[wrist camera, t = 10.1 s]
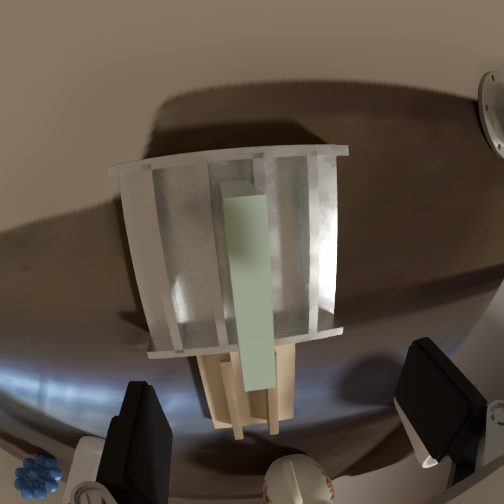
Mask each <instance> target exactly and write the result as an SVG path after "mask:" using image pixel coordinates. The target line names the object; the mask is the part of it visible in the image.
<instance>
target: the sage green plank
mask: <svg viewBox="0 0 504 504" xmlns="http://www.w3.org/2000/svg"><path fill="white" fill-rule="evenodd" d="M219 190H220V201H221V211H222V221H223V231H224V241H225V250H226V260H227V269H228V278H229V286H230V295H231V303H232V312H233V319H234V326H235V332H236V339H237V345H238V352H239V358H240V364H241V371H242V377H243V383H244V389H245V392H247V391H254V390H261V389H268V388H274V387H276V375H275V349H274V325H273V303H272V283H271V264H270V246H269V228H268V212H267V196H266V194H265V193H264V192H262V191H261V190H260V189H258V188H257V187H256V186H254V185H253V184H251V183H250V182H249V181H247V180H246V179H244V178H239V179H228V180H219Z"/></svg>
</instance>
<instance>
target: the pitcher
mask: <svg viewBox="0 0 504 504" xmlns="http://www.w3.org/2000/svg"><path fill="white" fill-rule="evenodd" d="M263 500H264V504H334V489H333V486H332V483H331V481H330V478H329V477H328V475H327V473H326V472H325V471H324V469H323V468H322V467H321V466H320V465H319V464H318V463H317V462H316V461H315V460H313V459H312V458H310V457H308V456H306V455H304V454H292V455H287V456H284V457H281V458H279V459H277V460H275V461H274V462H273V463H272V464H271V465H270V467H269V469H268V470H267V473H266V475H265V479H264V483H263Z"/></svg>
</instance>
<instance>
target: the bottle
mask: <svg viewBox="0 0 504 504" xmlns="http://www.w3.org/2000/svg"><path fill="white" fill-rule="evenodd" d="M104 444H105V440H104V439H101V438H98V437H93V436H84V437H82V438H80V440H79V443H78V444H77V447H76V450H75V454H74V455H75V456H74V459H73V463H72V466H71V470H70V473H69V477H68V481H67V485H66V489H65V492H64V497H63V501H62V504H68V503H70V494H71V491H72V490H73V488H74V487H75V486H76V485H78V484H79V483H81V482H85V481H94V482H95V480H96V476H97V472H98V467H99V463H100V459H101V455H102V452H103V448H104Z"/></svg>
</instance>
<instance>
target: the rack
mask: <svg viewBox="0 0 504 504" xmlns="http://www.w3.org/2000/svg"><path fill="white" fill-rule="evenodd" d="M336 155H349V152H348V145H335V144H315V145H277V146H258V147H243V148H230V149H219V150H209V151H200V152H191V153H183V154H176V155H168V156H161V157H155V158H148V159H142V160H137V161H131V162H125V163H120V164H117V165H113V166H108V167H107V174H108V177H113V176H118V178H119V186H120V193H121V200H122V207H123V214H124V220H125V226H126V231H127V237H128V242H129V247H130V252H131V257H132V262H133V267H134V271H135V276H136V280H137V285H138V289H139V293H140V297H141V301H142V305H143V309H144V313H145V316H146V320H147V324H148V327H149V331H150V334H151V339H150V343H149V346H148V350H147V354H148V357H149V359H156V358H173V357H187V356H198V355H209V354H219V353H228V352H237V351H238V345H237V339H236V332H235V326H234V319H233V312H232V303H231V295H230V286H229V278H228V269H227V260H226V250H225V241H224V231H223V221H222V211H221V201H220V190H219V180H228V179H239V178H244V179H246V180H247V181H249V182H250V183H251V184H253V185H254V186H256V187H257V188H258V189H260V190H261V191H262V192H264V193H265V194H266V196H267V212H268V228H269V246H270V264H271V283H272V303H273V325H274V346H280V345H286V344H292V343H298V342H304V341H309V340H315V339H320V338H325V337H330V336H335V335H340V334H343V326H342V325H341V323H340V322H339V321H338V319H337V318H336V316H335V315H334V301H335V283H336V258H337V172H336Z"/></svg>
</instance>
